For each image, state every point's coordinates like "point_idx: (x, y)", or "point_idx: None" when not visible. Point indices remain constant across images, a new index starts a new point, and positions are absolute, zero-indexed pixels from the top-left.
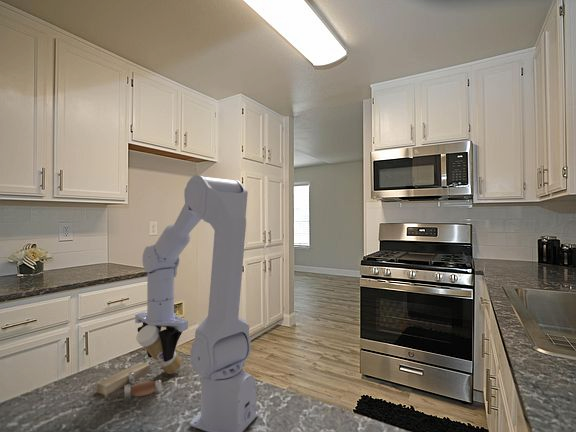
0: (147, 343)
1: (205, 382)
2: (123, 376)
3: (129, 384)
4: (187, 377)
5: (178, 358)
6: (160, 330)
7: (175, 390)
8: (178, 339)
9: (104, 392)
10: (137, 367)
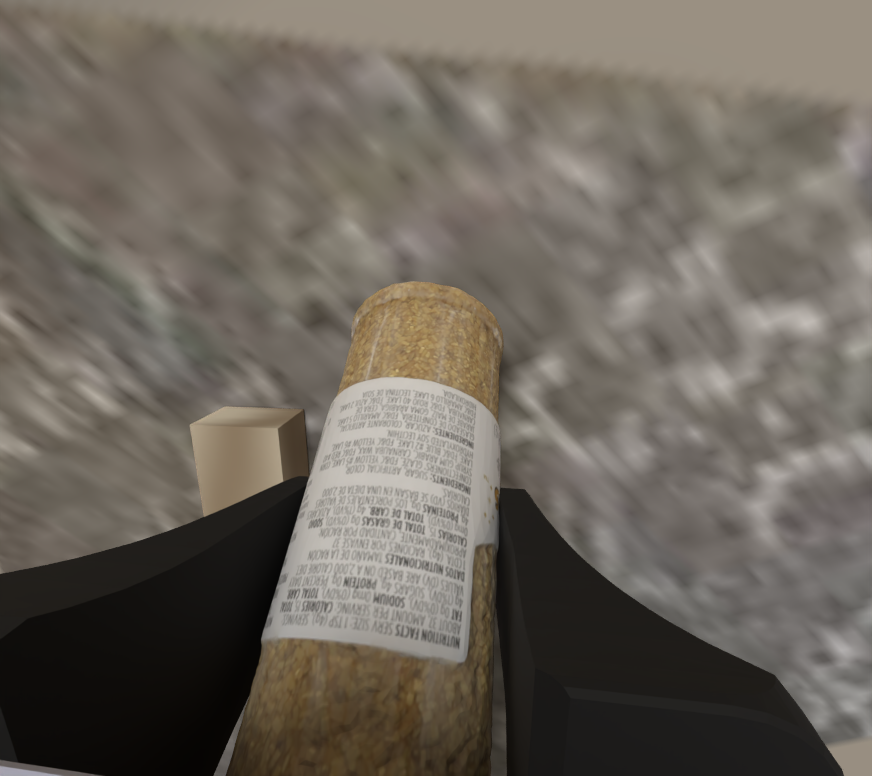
0: None
1: None
2: None
3: None
4: (588, 354)
5: (488, 364)
6: (154, 575)
7: (625, 508)
8: (616, 589)
9: None
10: (246, 493)
